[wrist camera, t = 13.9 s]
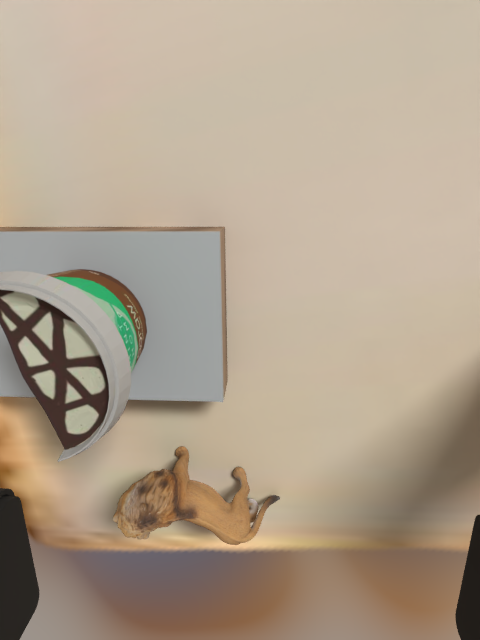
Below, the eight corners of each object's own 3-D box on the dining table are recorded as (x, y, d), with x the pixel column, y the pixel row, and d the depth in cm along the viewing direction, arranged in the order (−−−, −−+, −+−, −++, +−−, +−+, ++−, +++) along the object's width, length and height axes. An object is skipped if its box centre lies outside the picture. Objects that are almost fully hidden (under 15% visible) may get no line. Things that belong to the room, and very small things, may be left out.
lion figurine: (135, 476, 43) (102, 549, 34) (144, 433, 41) (112, 498, 33) (272, 512, 43) (274, 593, 35) (287, 471, 42) (293, 545, 33)
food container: (184, 373, 34) (152, 445, 25) (116, 392, 35) (61, 469, 26) (125, 228, 31) (63, 247, 22) (53, 254, 32) (-38, 283, 22)
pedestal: (224, 226, 34) (219, 232, 31) (227, 380, 39) (223, 401, 35) (-9, 227, 36) (-41, 232, 32) (19, 376, 40) (-7, 396, 36)
